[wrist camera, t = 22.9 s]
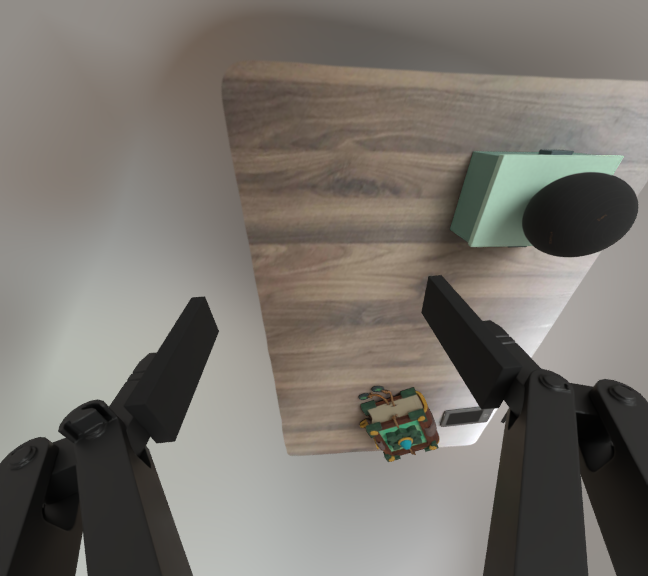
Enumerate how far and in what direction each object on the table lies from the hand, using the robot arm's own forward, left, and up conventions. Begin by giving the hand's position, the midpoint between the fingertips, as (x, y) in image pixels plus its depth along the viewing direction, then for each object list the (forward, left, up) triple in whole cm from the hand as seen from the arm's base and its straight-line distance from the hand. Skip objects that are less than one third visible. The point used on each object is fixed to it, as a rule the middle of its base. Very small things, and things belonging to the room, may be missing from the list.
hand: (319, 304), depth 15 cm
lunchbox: (+19, +27, -28) cm, 43 cm away
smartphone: (+82, +1, -28) cm, 87 cm away
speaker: (+19, +27, -22) cm, 39 cm away
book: (+63, -16, -29) cm, 71 cm away
